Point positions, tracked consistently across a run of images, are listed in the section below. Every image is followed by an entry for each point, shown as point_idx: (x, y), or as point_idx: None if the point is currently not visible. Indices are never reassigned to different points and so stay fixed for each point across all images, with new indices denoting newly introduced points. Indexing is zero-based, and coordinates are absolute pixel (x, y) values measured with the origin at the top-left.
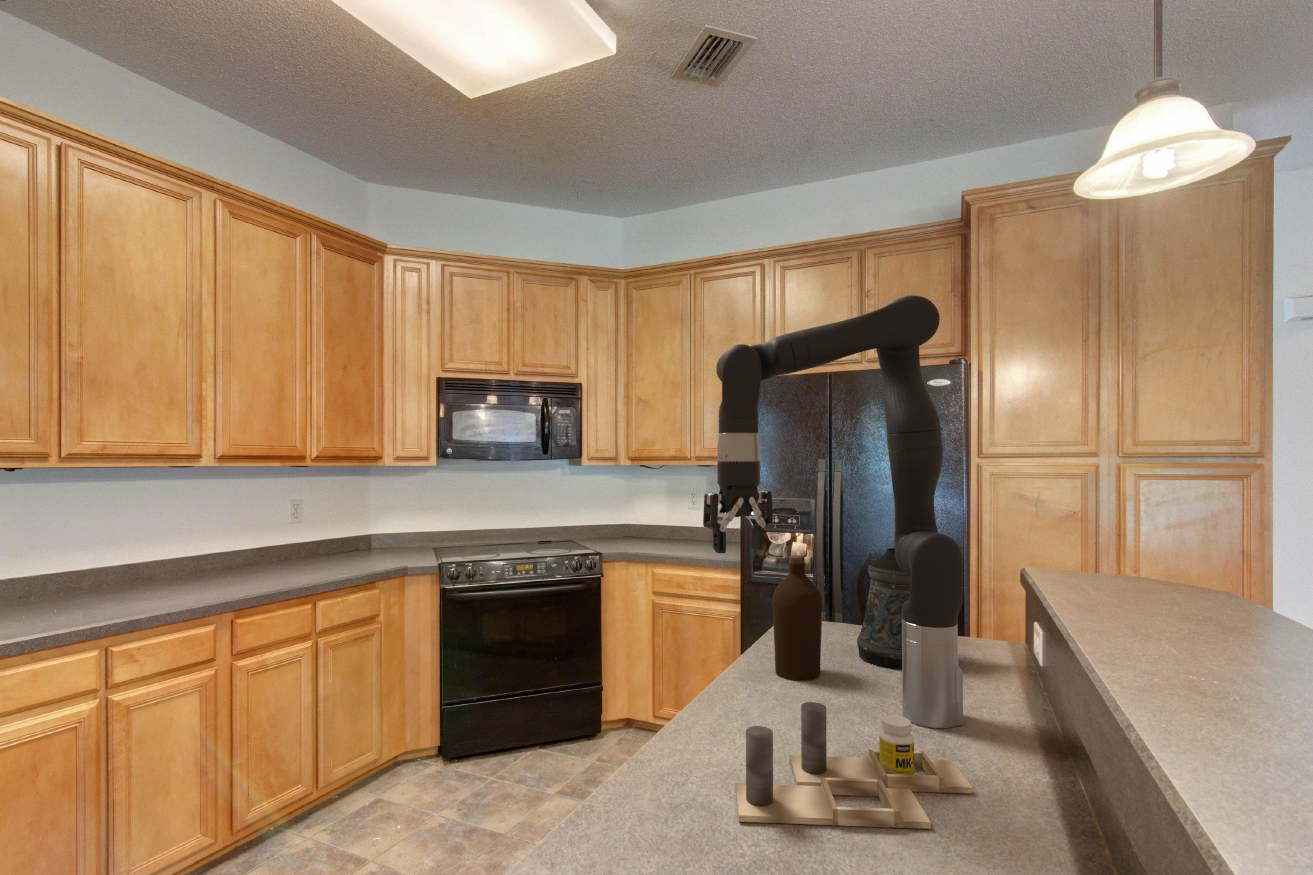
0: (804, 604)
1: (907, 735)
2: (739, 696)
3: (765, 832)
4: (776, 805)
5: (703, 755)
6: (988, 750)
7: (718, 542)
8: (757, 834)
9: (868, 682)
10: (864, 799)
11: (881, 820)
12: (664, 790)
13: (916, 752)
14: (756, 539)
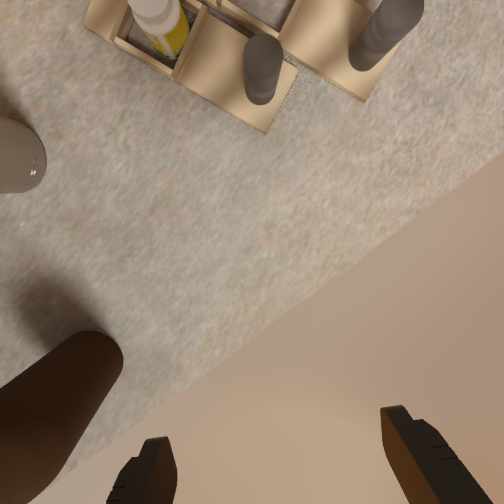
0: (14, 411)
1: None
2: (213, 323)
3: None
4: (355, 33)
5: (347, 194)
6: (4, 41)
7: (454, 453)
8: None
9: (14, 292)
10: None
11: None
12: (431, 140)
13: (120, 40)
14: (156, 495)
